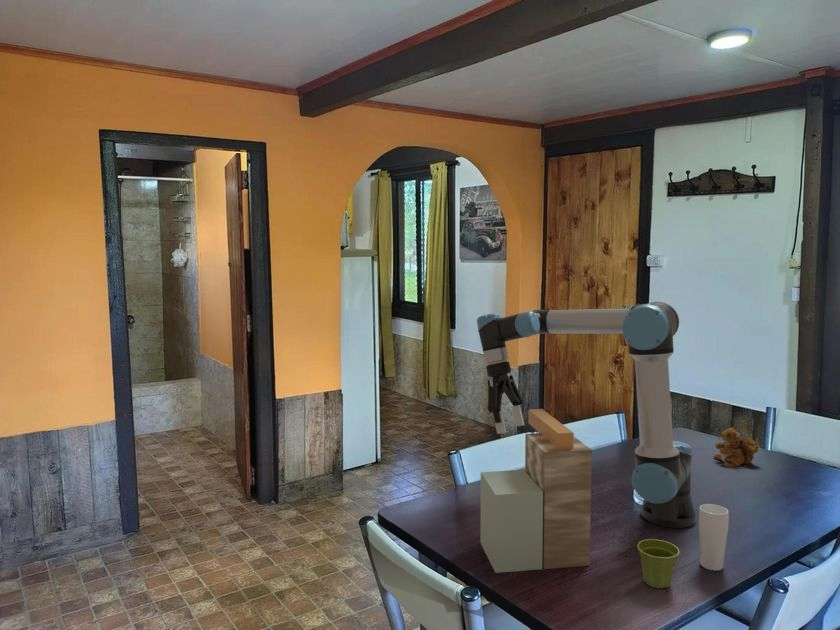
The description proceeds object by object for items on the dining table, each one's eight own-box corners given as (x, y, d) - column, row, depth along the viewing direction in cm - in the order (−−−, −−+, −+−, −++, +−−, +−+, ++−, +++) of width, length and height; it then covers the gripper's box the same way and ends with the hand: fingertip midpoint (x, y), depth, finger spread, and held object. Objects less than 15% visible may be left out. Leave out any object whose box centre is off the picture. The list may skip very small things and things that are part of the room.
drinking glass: (729, 574, 153) (732, 515, 152) (700, 572, 155) (702, 513, 153) (722, 561, 160) (724, 504, 159) (694, 558, 161) (696, 502, 160)
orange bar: (528, 423, 180) (528, 409, 180) (541, 422, 181) (542, 408, 180) (558, 449, 156) (558, 433, 156) (573, 448, 157) (573, 432, 156)
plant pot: (674, 597, 144) (675, 561, 143) (632, 586, 149) (633, 551, 148) (681, 579, 152) (682, 544, 151) (641, 569, 157) (642, 535, 156)
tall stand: (524, 540, 173) (525, 433, 170) (566, 536, 174) (568, 431, 171) (543, 569, 157) (545, 452, 154) (589, 565, 158) (591, 450, 155)
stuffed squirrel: (711, 458, 239) (712, 424, 238) (750, 459, 237) (752, 425, 236) (719, 467, 229) (721, 431, 228) (761, 468, 227) (762, 433, 226)
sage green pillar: (480, 543, 171) (480, 472, 169) (523, 540, 173) (523, 469, 171) (495, 572, 155) (495, 494, 153) (542, 569, 157) (543, 491, 155)
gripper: (503, 361, 211) (516, 424, 209) (468, 368, 190) (482, 438, 188) (523, 357, 207) (537, 421, 205) (489, 363, 186) (504, 435, 184)
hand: (511, 429), depth 196 cm, fingers open, 13 cm apart
